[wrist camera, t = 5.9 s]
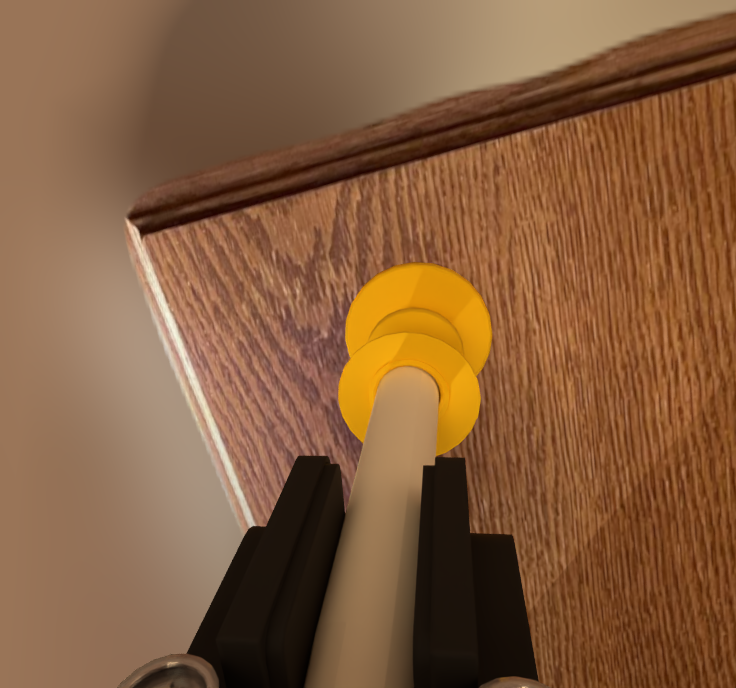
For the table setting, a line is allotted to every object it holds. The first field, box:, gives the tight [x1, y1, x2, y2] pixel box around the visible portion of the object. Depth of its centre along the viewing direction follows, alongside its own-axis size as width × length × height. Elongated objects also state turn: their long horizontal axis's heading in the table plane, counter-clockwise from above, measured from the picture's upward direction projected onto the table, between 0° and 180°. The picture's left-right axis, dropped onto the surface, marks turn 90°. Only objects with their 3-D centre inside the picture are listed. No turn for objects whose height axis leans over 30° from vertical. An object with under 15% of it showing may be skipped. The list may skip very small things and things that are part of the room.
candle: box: [303, 262, 492, 688], centre depth 12 cm, size 5×5×16 cm
